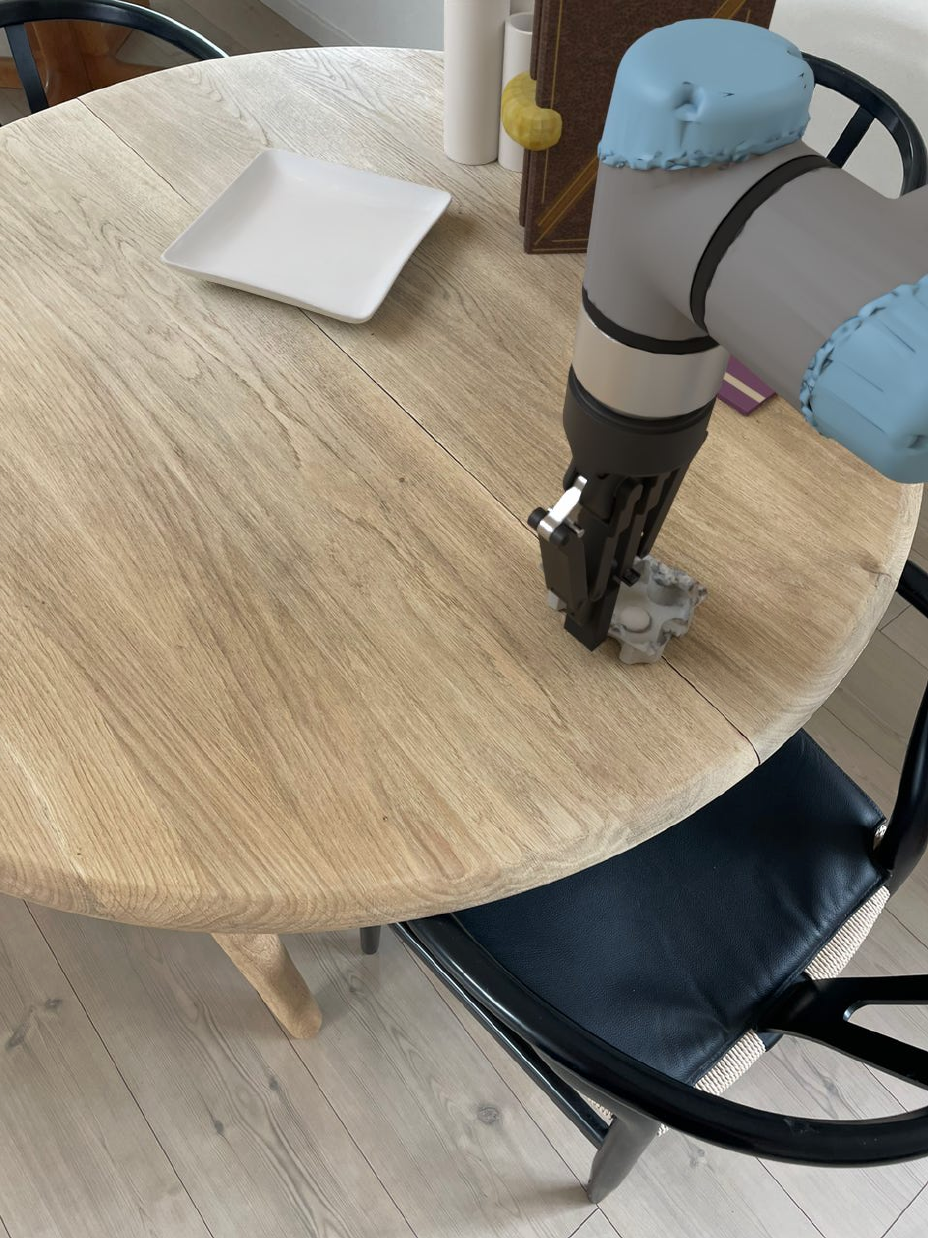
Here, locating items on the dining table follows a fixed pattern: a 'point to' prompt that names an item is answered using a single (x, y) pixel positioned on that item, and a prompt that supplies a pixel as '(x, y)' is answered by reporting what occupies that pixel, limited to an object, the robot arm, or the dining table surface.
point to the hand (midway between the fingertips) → (584, 634)
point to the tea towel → (743, 388)
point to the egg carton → (650, 609)
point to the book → (582, 102)
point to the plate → (309, 233)
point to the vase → (483, 76)
